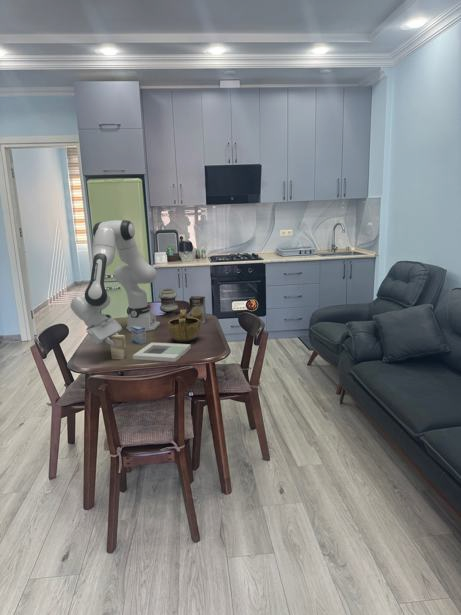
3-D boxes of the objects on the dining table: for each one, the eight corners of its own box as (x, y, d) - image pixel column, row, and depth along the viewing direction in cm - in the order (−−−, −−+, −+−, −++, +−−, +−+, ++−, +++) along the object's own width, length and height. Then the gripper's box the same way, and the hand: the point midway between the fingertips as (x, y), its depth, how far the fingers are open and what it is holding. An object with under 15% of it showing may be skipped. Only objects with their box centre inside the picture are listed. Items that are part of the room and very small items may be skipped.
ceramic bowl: (170, 335, 237) (168, 309, 234) (200, 333, 238) (199, 308, 235) (168, 347, 215) (165, 319, 212) (201, 345, 216) (199, 317, 213)
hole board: (151, 346, 219) (151, 341, 219) (190, 348, 213) (190, 343, 213) (133, 359, 201) (132, 354, 200) (175, 361, 195) (175, 357, 194)
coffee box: (190, 323, 260) (188, 298, 257) (192, 320, 267) (190, 296, 263) (204, 323, 259) (203, 298, 255) (206, 320, 265) (205, 296, 262)
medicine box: (131, 342, 228) (130, 326, 226) (138, 340, 231) (137, 325, 229) (139, 344, 223) (138, 329, 221) (146, 342, 226) (145, 327, 224)
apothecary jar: (161, 318, 276) (159, 292, 272) (159, 314, 287) (157, 288, 283) (179, 316, 278) (177, 290, 274) (177, 312, 290) (175, 287, 286)
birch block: (116, 355, 206) (113, 334, 204) (127, 356, 205) (124, 335, 202) (111, 358, 203) (109, 337, 200) (122, 359, 201) (120, 337, 199)
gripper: (88, 324, 192) (109, 345, 191) (112, 313, 211) (131, 332, 211) (80, 333, 194) (101, 354, 194) (105, 321, 213) (124, 341, 213)
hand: (117, 343), depth 202 cm, fingers closed on birch block, 4 cm apart
